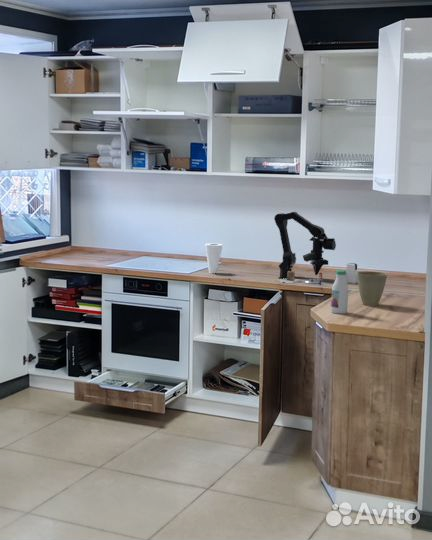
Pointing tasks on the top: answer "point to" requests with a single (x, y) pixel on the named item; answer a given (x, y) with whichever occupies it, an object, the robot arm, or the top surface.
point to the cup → (213, 256)
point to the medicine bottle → (351, 273)
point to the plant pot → (371, 286)
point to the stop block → (290, 276)
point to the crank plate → (316, 284)
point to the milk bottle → (339, 294)
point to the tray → (290, 281)
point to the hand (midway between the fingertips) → (316, 274)
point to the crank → (314, 280)
